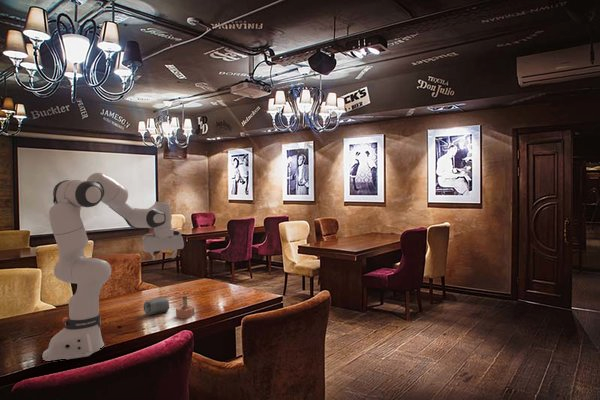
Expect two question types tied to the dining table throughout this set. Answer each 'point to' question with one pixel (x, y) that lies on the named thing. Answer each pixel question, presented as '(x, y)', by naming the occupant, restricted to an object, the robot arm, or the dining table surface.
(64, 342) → the robot arm
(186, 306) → the dowel
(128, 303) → the dining table surface
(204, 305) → the dining table surface
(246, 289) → the dining table surface
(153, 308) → the spool
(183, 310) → the bead
